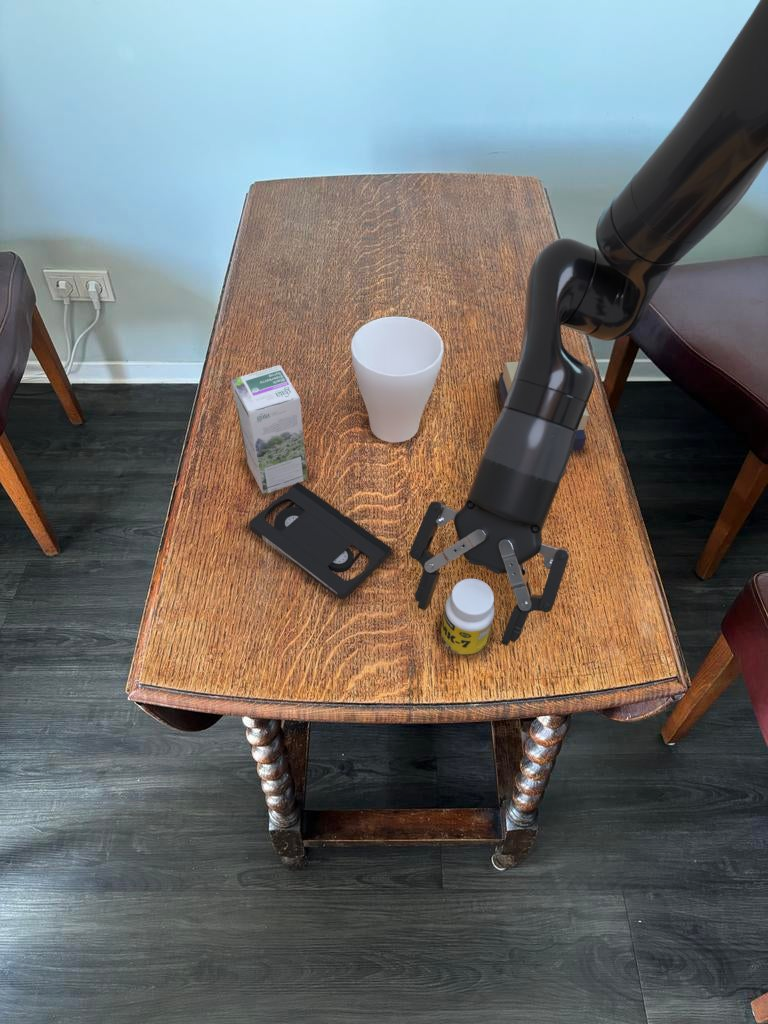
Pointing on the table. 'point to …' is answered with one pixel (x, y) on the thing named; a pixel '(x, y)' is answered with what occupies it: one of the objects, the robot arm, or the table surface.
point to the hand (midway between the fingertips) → (463, 625)
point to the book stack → (504, 387)
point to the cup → (396, 373)
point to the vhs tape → (319, 540)
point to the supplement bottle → (468, 617)
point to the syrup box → (271, 428)
